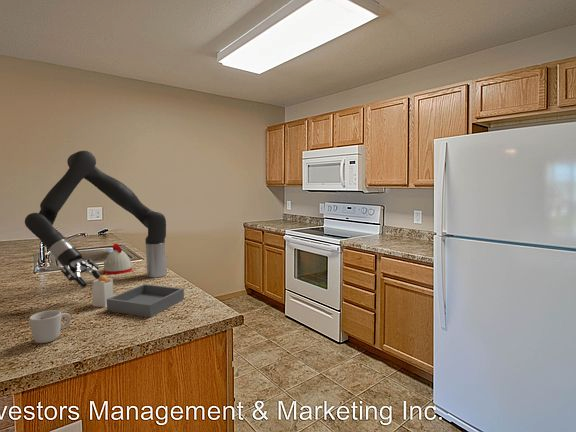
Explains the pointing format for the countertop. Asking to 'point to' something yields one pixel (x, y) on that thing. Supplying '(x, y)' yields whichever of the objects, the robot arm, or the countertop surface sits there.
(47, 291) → the countertop surface
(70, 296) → the countertop surface
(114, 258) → the cream and red dome
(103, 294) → the open white crate
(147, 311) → the tray
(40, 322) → the cup
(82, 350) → the countertop surface
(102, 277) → the ball
